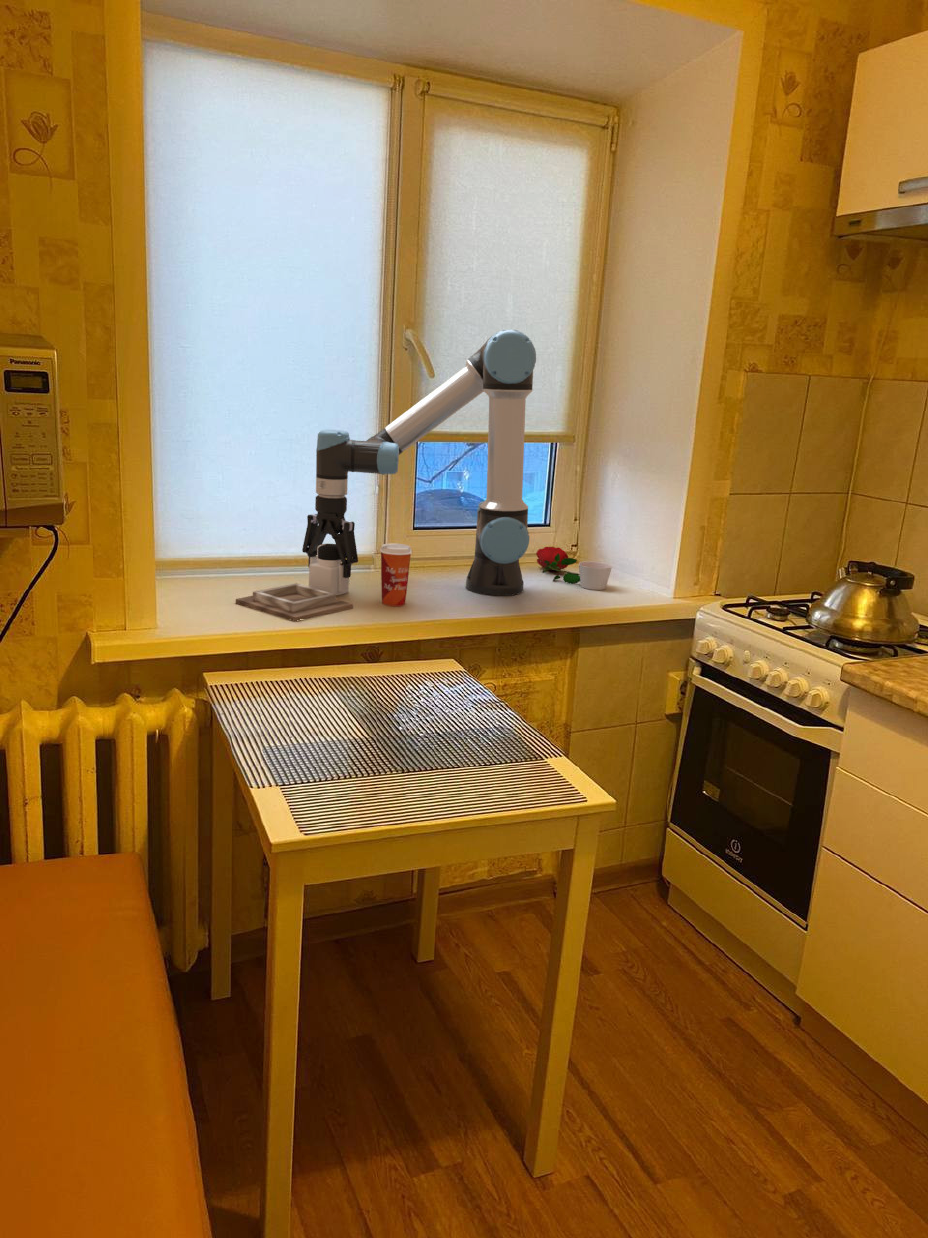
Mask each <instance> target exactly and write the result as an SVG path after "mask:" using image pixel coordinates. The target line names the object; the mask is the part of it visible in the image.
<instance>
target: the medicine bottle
mask: <svg viewBox="0 0 928 1238" xmlns="http://www.w3.org/2000/svg"><path fill="white" fill-rule="evenodd" d="M316 556H317V561H318V563H313V564H310V565H309V567H308V587H311V588H315V589H319V590H322V591H326V592H329V593H333V594H336V597H337V596H341V595H345V594H347V593H349V590H345V591H339V565H340V564H341V563H342V561H341V558H340V555H339V552H338V549H337V546H336V543H322V544H321V545H319V546H318V547H317V555H316Z"/></svg>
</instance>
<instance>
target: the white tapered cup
mask: <svg viewBox="0 0 928 1238" xmlns="http://www.w3.org/2000/svg"><path fill="white" fill-rule="evenodd" d="M612 568H613V565H611V564H609V563H606V562H601V561H594V560H591V561H590V560H585V561H580V562H578V569H579V570H578V574H579V576H580V582H579V583H580V587H581V588H583V589H586V590H591V591H602V590H605V589H606V588H607V585H608V581H609V578H610V575H611V572H612Z"/></svg>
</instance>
